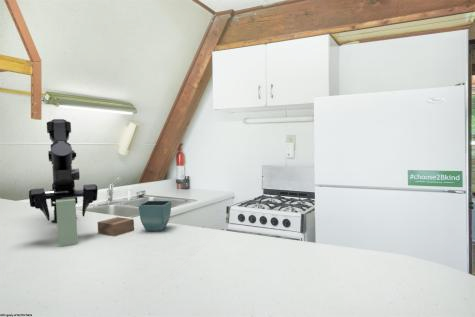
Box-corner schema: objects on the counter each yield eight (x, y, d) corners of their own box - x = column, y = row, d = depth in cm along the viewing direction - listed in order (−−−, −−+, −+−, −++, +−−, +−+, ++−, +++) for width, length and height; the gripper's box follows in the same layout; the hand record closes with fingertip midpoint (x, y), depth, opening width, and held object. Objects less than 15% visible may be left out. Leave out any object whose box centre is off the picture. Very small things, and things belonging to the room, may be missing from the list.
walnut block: (98, 234, 114) (97, 222, 114) (118, 228, 121) (117, 217, 121) (114, 237, 110) (114, 224, 110) (134, 231, 117) (133, 219, 117)
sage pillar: (58, 242, 105) (55, 199, 104) (76, 239, 107) (74, 197, 107) (58, 246, 101) (56, 202, 100) (77, 244, 103) (75, 200, 102)
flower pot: (173, 225, 121) (172, 200, 121) (165, 232, 113) (164, 205, 112) (148, 226, 122) (147, 200, 122) (138, 232, 114) (137, 205, 113)
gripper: (27, 162, 103) (27, 204, 94) (95, 158, 112) (101, 197, 102) (30, 186, 110) (30, 228, 101) (93, 181, 119) (99, 219, 110)
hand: (66, 217), depth 103 cm, fingers open, 9 cm apart
